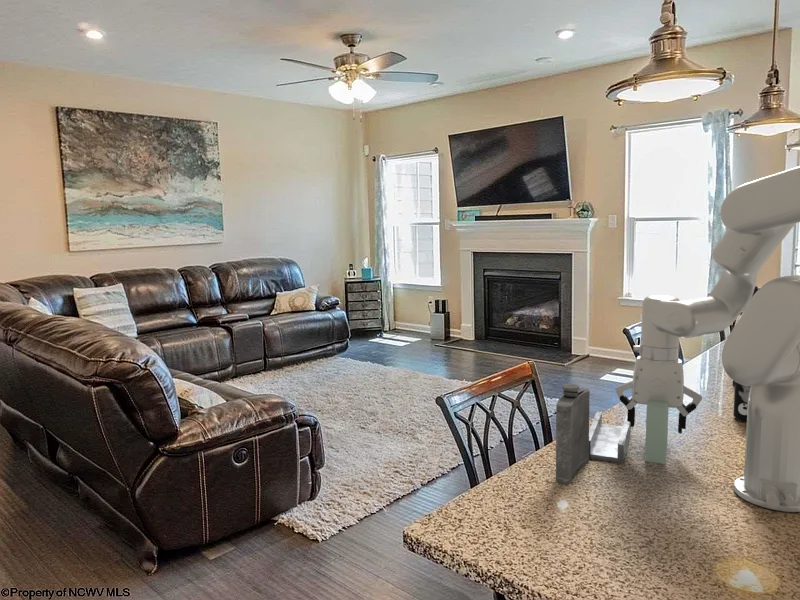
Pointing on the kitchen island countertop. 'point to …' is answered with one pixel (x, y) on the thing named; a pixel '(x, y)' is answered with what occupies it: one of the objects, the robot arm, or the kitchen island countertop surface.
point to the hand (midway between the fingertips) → (655, 428)
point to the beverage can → (741, 402)
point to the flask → (572, 432)
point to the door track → (608, 440)
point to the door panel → (656, 432)
